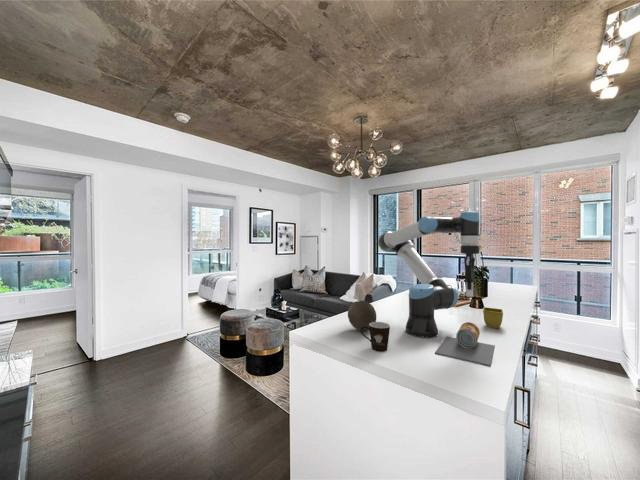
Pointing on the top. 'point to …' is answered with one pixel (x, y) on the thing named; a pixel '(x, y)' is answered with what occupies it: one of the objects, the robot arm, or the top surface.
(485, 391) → the top surface
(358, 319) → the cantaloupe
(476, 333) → the canned food
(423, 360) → the top surface
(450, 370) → the top surface
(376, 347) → the coffee mug
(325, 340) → the top surface
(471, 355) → the mat
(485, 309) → the flower pot
